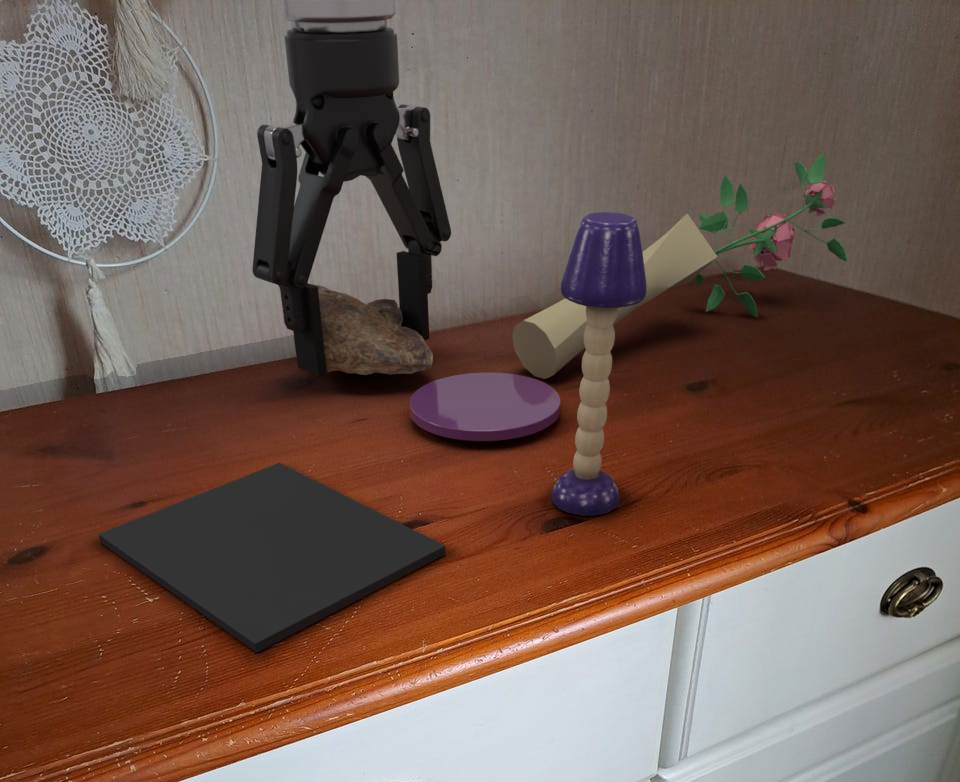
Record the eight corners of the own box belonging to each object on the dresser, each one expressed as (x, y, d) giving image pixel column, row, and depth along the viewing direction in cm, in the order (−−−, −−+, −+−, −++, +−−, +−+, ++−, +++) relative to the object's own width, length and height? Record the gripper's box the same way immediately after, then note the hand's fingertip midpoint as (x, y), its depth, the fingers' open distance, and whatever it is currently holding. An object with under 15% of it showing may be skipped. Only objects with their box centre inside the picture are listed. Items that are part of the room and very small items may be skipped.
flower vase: (524, 445, 85) (765, 274, 99) (622, 450, 75) (874, 260, 89) (473, 316, 79) (736, 154, 93) (572, 304, 70) (848, 125, 83)
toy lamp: (623, 484, 62) (644, 205, 52) (633, 519, 58) (659, 226, 49) (548, 485, 62) (556, 207, 52) (554, 521, 58) (564, 228, 49)
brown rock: (329, 391, 72) (322, 324, 69) (278, 339, 81) (270, 278, 78) (444, 369, 76) (443, 305, 73) (383, 321, 84) (380, 262, 82)
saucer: (379, 419, 71) (378, 401, 70) (484, 378, 78) (483, 361, 77) (486, 464, 65) (486, 444, 64) (591, 415, 71) (592, 397, 70)
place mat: (100, 542, 57) (97, 533, 57) (280, 470, 65) (279, 462, 64) (256, 653, 48) (254, 643, 48) (445, 554, 56) (445, 545, 55)
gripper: (227, 40, 56) (277, 405, 69) (497, 17, 69) (496, 329, 82) (159, 33, 60) (218, 378, 73) (426, 13, 73) (436, 309, 86)
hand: (365, 352), depth 78 cm, fingers closed on brown rock, 10 cm apart
